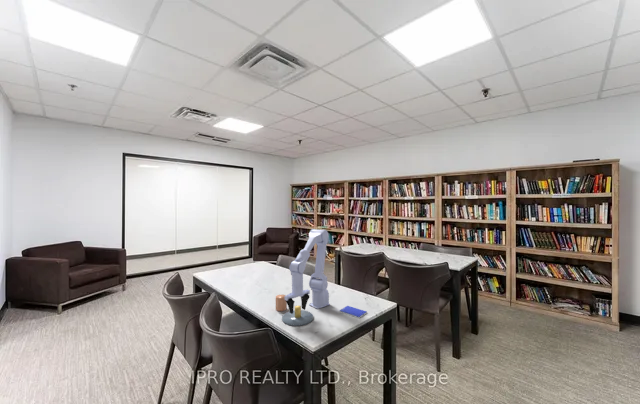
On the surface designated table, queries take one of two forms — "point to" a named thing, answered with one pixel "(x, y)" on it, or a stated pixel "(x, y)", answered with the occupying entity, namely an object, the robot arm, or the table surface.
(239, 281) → the table surface
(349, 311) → the hard drive
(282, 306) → the tan piece
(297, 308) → the capsule
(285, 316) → the lid
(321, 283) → the robot arm
